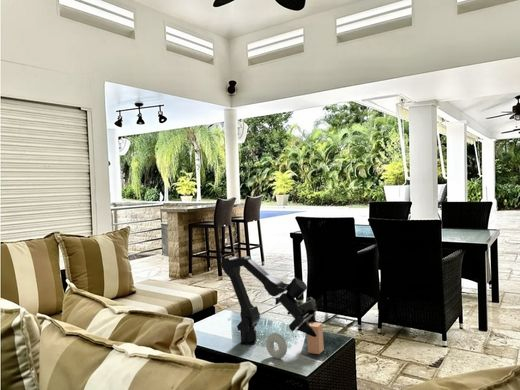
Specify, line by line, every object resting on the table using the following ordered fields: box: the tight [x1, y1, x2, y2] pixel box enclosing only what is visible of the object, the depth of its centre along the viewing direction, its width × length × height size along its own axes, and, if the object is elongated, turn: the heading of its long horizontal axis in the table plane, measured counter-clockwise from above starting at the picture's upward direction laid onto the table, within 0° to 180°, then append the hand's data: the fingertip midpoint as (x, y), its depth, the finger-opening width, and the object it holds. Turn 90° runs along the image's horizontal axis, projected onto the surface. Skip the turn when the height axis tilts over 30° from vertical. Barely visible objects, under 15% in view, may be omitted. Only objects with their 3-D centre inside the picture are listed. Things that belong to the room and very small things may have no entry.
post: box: [306, 321, 325, 355], centre depth 165 cm, size 5×5×11 cm
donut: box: [265, 332, 288, 360], centre depth 161 cm, size 10×4×10 cm, turn 49°
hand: (318, 334), depth 165 cm, fingers closed on post, 5 cm apart
